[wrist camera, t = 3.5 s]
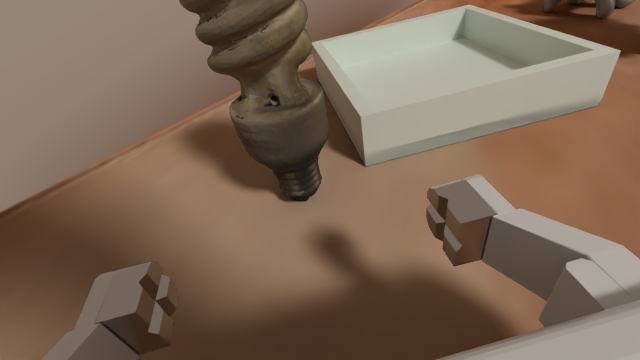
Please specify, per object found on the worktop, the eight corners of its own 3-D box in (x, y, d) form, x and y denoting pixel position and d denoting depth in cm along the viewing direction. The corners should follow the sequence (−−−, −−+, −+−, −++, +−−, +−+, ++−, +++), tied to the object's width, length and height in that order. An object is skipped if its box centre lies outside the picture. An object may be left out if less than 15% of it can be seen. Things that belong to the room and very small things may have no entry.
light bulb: (248, 222, 21) (116, -71, 11) (272, 169, 25) (190, -79, 15) (334, 223, 19) (266, -108, 10) (345, 167, 23) (304, -106, 14)
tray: (365, 166, 23) (360, 116, 21) (317, 78, 37) (311, 42, 35) (598, 105, 24) (621, 50, 21) (465, 42, 38) (469, 4, 36)
